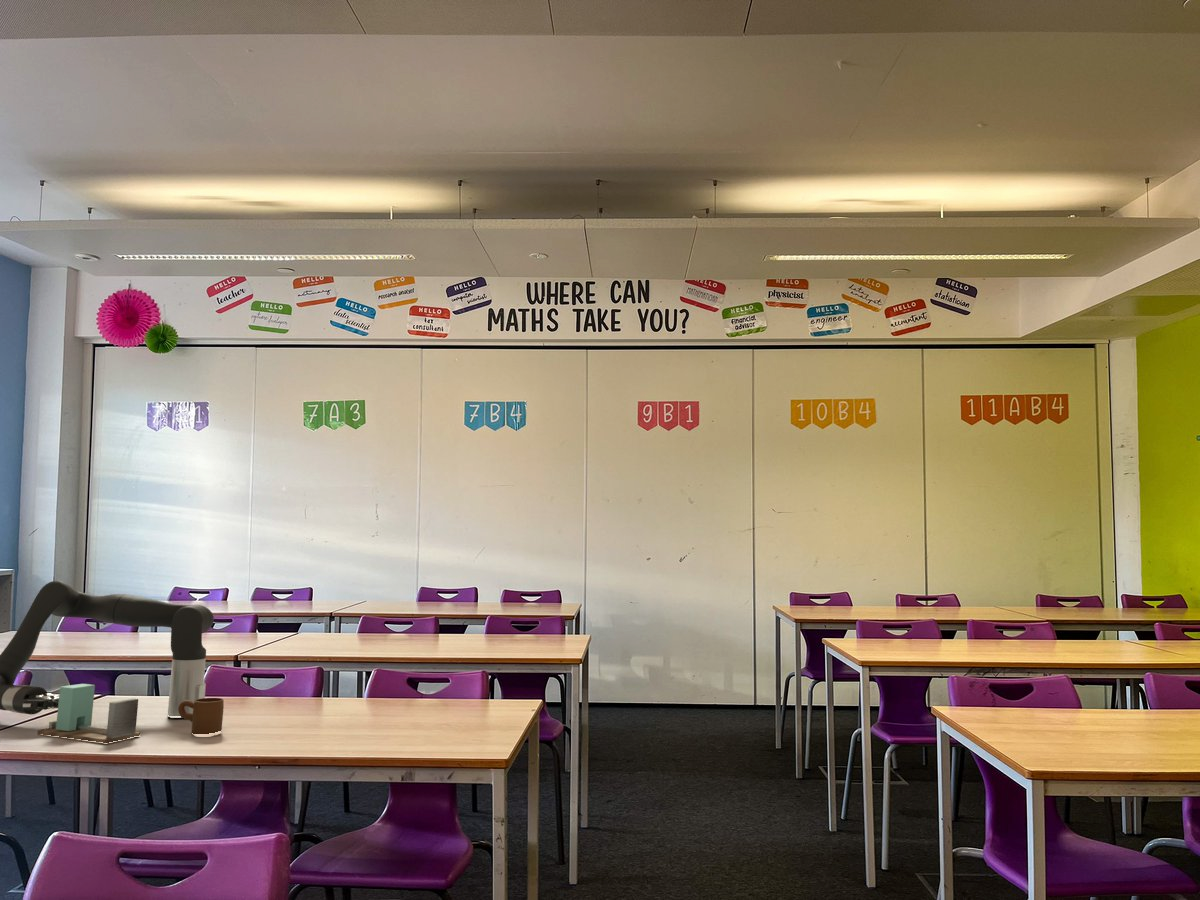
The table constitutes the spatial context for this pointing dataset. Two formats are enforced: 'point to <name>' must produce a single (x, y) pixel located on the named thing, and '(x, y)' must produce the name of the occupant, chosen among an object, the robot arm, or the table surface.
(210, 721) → the mug
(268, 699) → the table surface
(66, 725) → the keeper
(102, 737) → the board
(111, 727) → the rail
